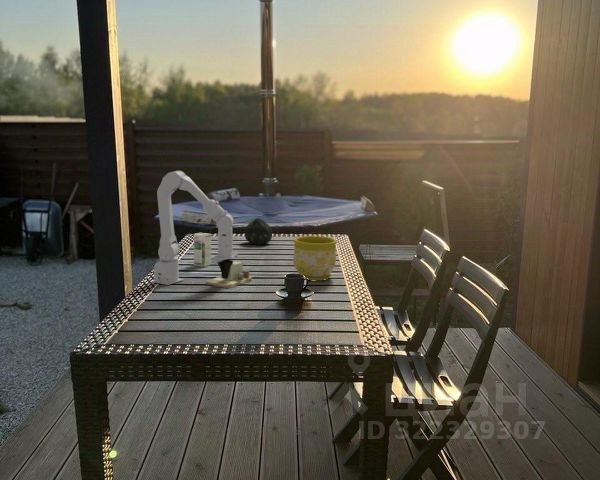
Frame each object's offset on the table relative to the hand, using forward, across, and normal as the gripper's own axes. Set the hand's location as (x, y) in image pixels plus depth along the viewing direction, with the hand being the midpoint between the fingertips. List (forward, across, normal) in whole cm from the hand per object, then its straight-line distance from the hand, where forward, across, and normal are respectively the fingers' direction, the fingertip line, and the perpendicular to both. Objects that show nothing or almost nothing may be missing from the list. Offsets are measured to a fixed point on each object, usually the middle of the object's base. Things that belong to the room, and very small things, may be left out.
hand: (224, 278), depth 234 cm
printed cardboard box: (+2, +20, +28) cm, 34 cm away
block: (+1, +5, 0) cm, 5 cm away
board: (+2, +3, 0) cm, 4 cm away
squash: (+2, +79, +38) cm, 88 cm away
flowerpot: (+2, +30, -24) cm, 38 cm away
